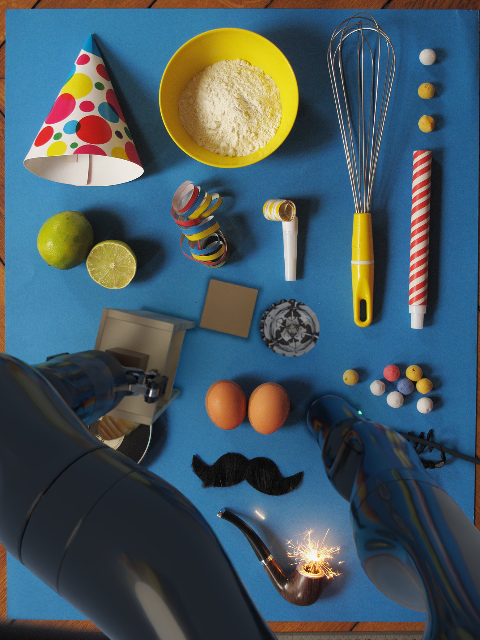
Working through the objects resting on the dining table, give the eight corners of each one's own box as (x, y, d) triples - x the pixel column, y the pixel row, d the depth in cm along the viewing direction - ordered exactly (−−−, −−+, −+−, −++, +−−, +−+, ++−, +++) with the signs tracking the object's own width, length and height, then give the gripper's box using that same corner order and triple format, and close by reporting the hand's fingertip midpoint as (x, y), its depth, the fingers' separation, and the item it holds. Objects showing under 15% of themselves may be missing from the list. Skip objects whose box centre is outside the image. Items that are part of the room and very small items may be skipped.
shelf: (195, 322, 86) (174, 324, 62) (178, 395, 86) (150, 425, 62) (144, 310, 86) (103, 307, 62) (127, 383, 86) (80, 408, 62)
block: (149, 354, 62) (140, 358, 57) (142, 387, 62) (132, 393, 57) (116, 347, 62) (105, 349, 57) (109, 379, 62) (97, 385, 57)
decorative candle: (287, 294, 85) (302, 284, 60) (311, 332, 85) (337, 338, 60) (249, 318, 85) (248, 318, 60) (273, 356, 85) (283, 373, 60)
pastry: (112, 446, 86) (106, 452, 82) (92, 421, 86) (85, 425, 82) (148, 418, 86) (143, 423, 82) (127, 392, 86) (122, 396, 82)
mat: (258, 290, 85) (258, 289, 85) (247, 337, 85) (247, 337, 85) (210, 279, 85) (210, 278, 85) (199, 326, 85) (199, 326, 85)
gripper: (4, 408, 43) (71, 383, 60) (137, 440, 43) (167, 406, 59) (20, 338, 43) (82, 332, 60) (153, 369, 43) (179, 355, 59)
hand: (125, 369), depth 59 cm, fingers open, 8 cm apart
